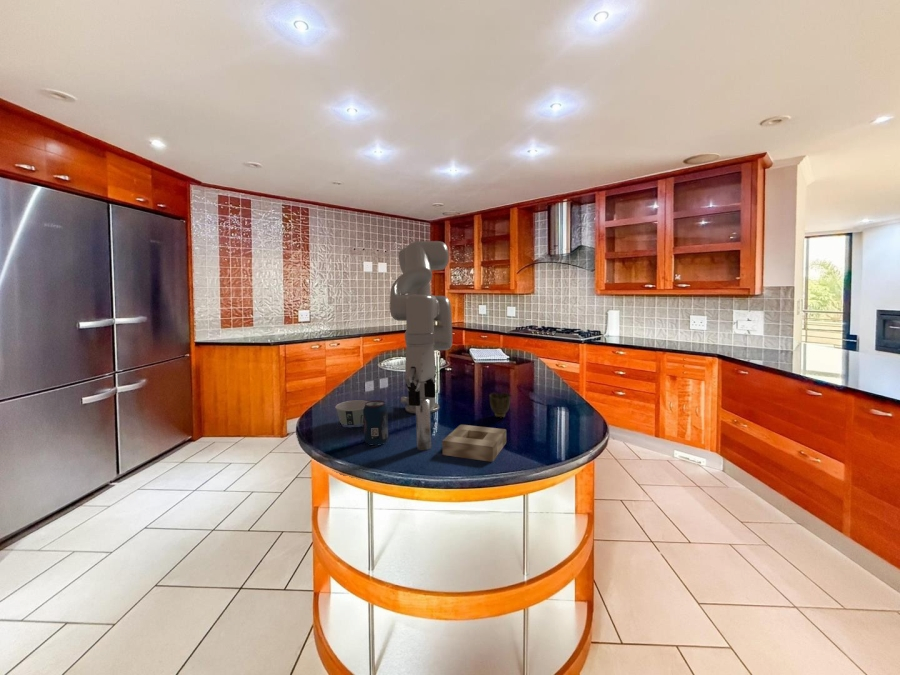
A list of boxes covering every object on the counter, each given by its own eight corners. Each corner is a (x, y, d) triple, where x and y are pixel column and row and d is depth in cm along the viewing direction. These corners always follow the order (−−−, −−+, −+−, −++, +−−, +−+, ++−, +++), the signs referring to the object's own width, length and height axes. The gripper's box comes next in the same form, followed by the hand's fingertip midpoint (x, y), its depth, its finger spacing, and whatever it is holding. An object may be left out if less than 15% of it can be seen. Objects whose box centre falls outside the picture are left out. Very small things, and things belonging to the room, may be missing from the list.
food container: (343, 417, 145) (342, 400, 144) (376, 418, 143) (375, 400, 143) (330, 429, 133) (329, 409, 132) (366, 429, 131) (365, 410, 131)
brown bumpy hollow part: (510, 413, 145) (510, 391, 144) (511, 420, 137) (511, 397, 136) (489, 413, 145) (489, 391, 144) (489, 420, 138) (489, 397, 137)
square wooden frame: (442, 454, 110) (442, 440, 109) (460, 437, 122) (460, 424, 122) (492, 461, 104) (492, 446, 104) (506, 442, 117) (506, 429, 117)
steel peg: (414, 449, 114) (412, 400, 112) (420, 444, 118) (419, 397, 116) (427, 451, 112) (426, 401, 111) (433, 446, 116) (432, 398, 114)
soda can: (366, 438, 123) (364, 400, 122) (389, 438, 123) (388, 399, 122) (363, 447, 116) (361, 406, 115) (387, 446, 116) (385, 405, 115)
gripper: (422, 337, 121) (424, 393, 122) (392, 342, 105) (395, 408, 106) (445, 337, 118) (447, 395, 119) (418, 343, 102) (421, 410, 103)
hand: (422, 401), depth 113 cm, fingers open, 9 cm apart
